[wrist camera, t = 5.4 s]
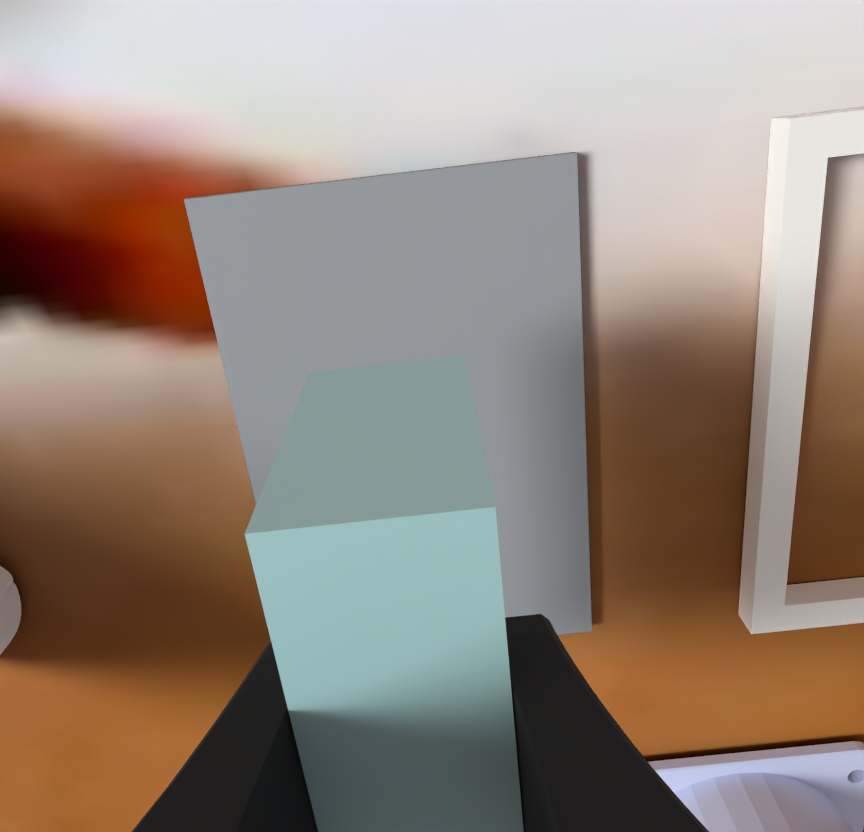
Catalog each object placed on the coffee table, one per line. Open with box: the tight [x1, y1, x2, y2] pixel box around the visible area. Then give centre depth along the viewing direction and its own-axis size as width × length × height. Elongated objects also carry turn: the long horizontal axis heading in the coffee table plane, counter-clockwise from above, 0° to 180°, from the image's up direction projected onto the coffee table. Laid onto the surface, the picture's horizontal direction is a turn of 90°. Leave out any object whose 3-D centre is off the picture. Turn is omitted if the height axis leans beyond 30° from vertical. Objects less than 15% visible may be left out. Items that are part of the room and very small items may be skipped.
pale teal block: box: [245, 355, 524, 832], centre depth 11 cm, size 8×2×5 cm, turn 6°
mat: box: [184, 152, 592, 635], centre depth 17 cm, size 12×8×1 cm, turn 6°
